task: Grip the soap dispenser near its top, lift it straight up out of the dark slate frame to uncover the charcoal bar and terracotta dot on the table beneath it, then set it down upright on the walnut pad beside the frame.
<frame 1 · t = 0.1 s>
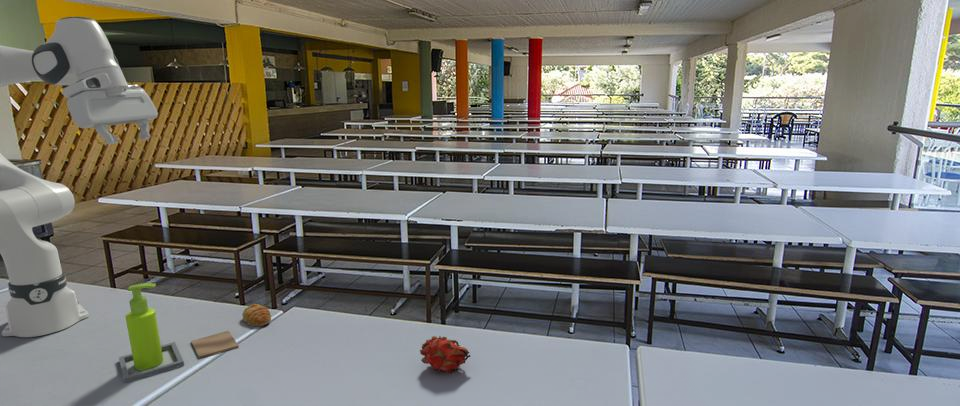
hand: (130, 141, 127), 52 cm above the table, tool tilted 20°, fingers open, 8 cm apart
pastry: (258, 320, 150), on the table
slate frame: (151, 363, 127), on the table
soap dispenser: (151, 363, 127), resting in slate frame
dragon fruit: (445, 368, 124), on the table
walnut pad: (214, 344, 136), on the table
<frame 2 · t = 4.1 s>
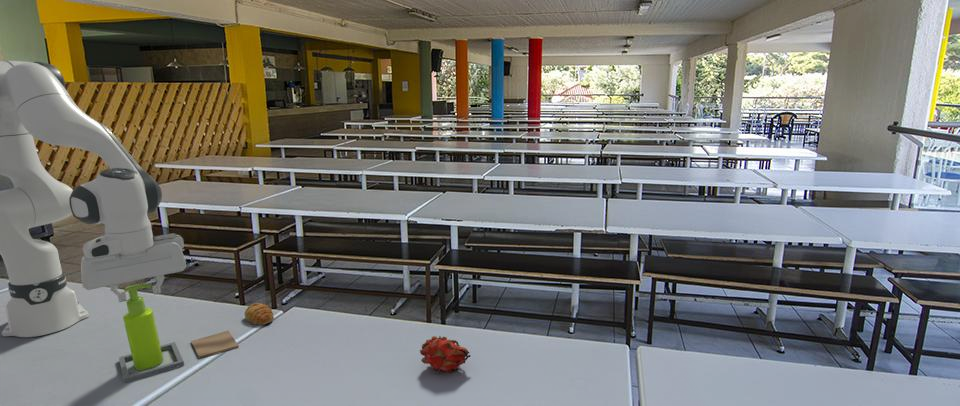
hand: (140, 297, 123), 17 cm above the table, tool pointing down, fingers closed on soap dispenser, 5 cm apart
soap dispenser: (151, 363, 127), resting in slate frame, touching gripper
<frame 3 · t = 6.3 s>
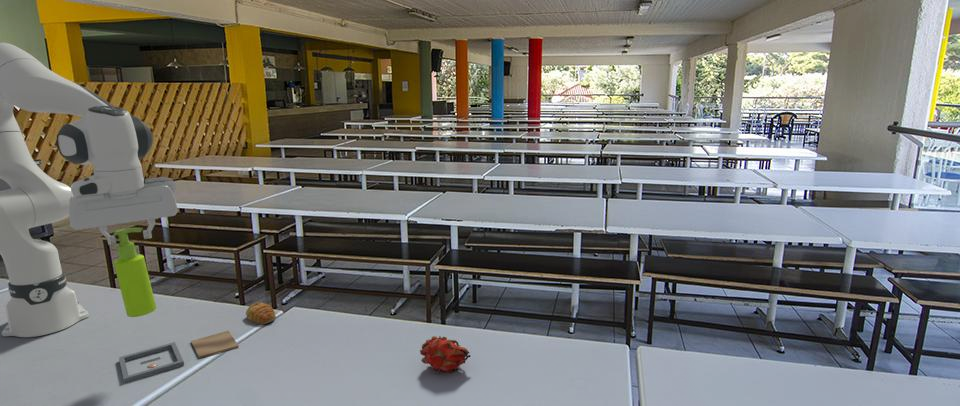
hand: (130, 241, 120), 31 cm above the table, tool pointing down, fingers closed on soap dispenser, 5 cm apart
soap dispenser: (144, 311, 124), point 13 cm above the table, touching gripper
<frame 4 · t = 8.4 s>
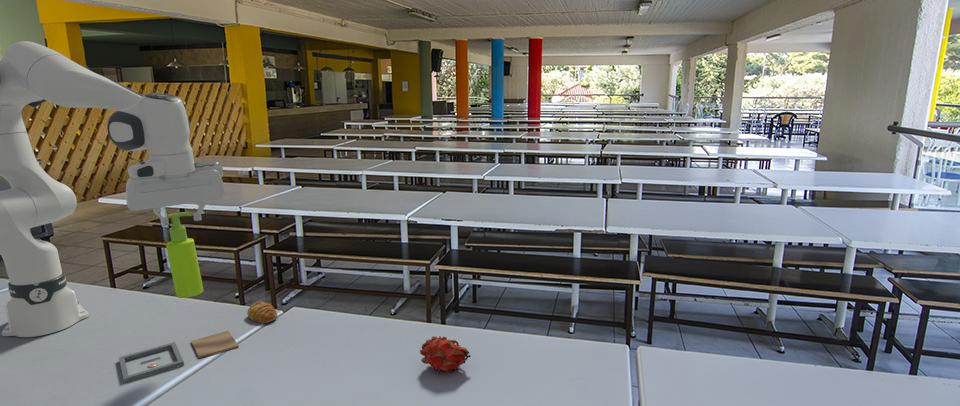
hand: (181, 222, 126), 33 cm above the table, tool pointing down, fingers closed on soap dispenser, 5 cm apart
soap dispenser: (192, 293, 129), point 15 cm above the table, touching gripper
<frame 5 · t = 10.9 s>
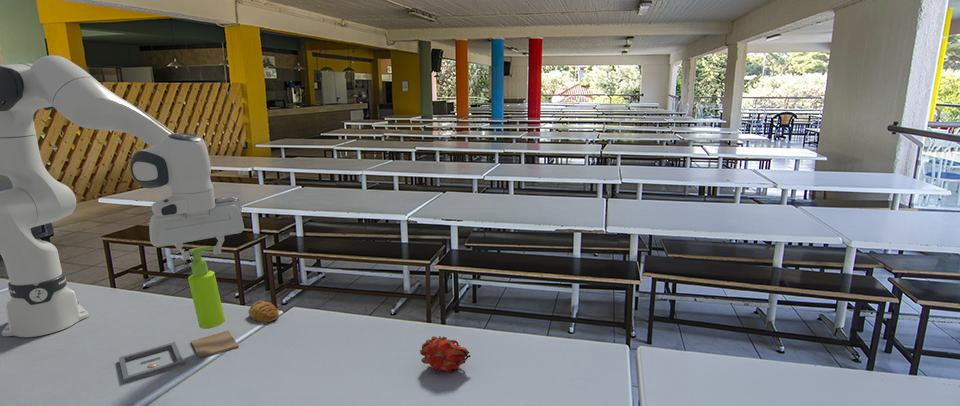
hand: (202, 256, 130), 24 cm above the table, tool pointing down, fingers closed on soap dispenser, 5 cm apart
soap dispenser: (214, 323, 134), point 6 cm above the table, touching gripper
when the fingers open (18 cm above the table, at t = 13.2 s): soap dispenser stays where it is, resting on walnut pad.
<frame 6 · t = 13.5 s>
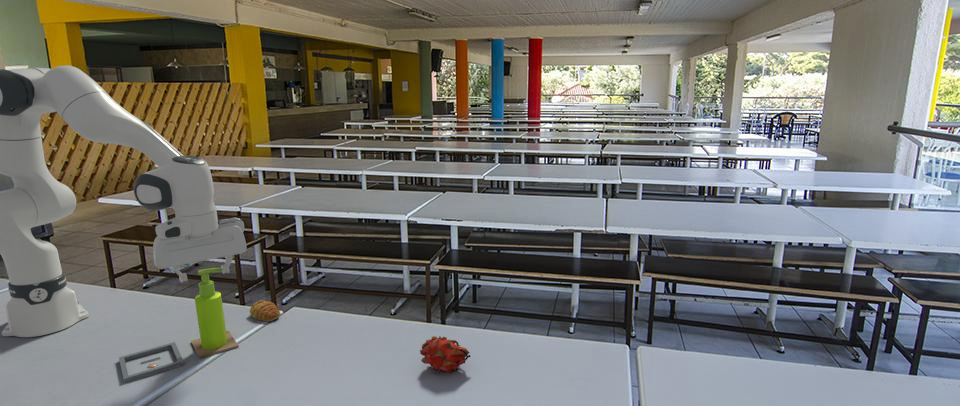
hand: (205, 276, 131), 19 cm above the table, tool pointing down, fingers open, 8 cm apart
soap dispenser: (216, 343, 136), resting on walnut pad
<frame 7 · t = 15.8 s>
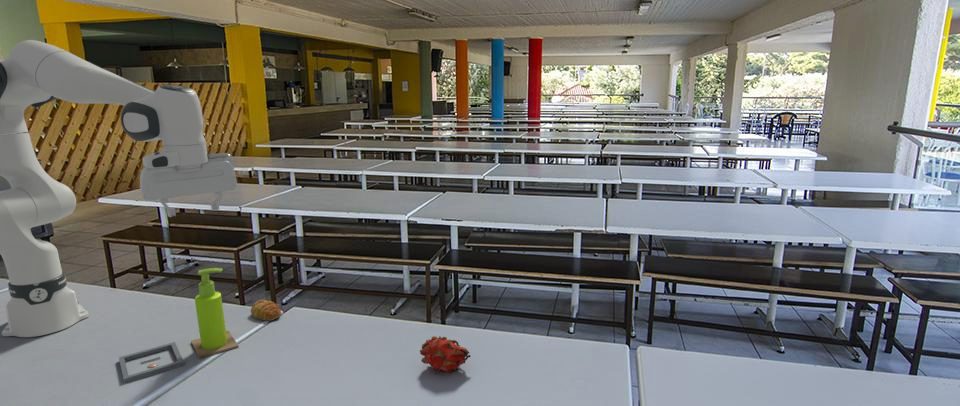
hand: (194, 212, 128), 35 cm above the table, tool pointing down, fingers open, 8 cm apart
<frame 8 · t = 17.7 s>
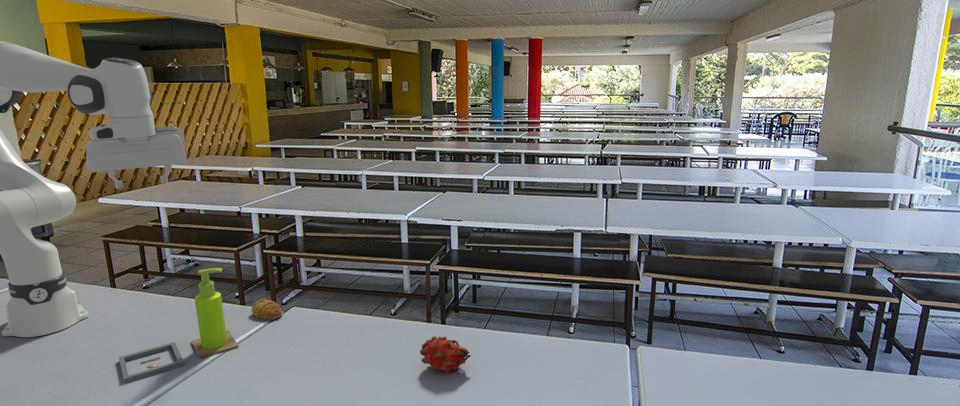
hand: (142, 185, 129), 41 cm above the table, tool pointing down, fingers open, 8 cm apart
at the end: soap dispenser inside the target area (0.6 cm from its centre), resting on walnut pad; soap dispenser tilted 0°; the gripper is holding nothing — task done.
